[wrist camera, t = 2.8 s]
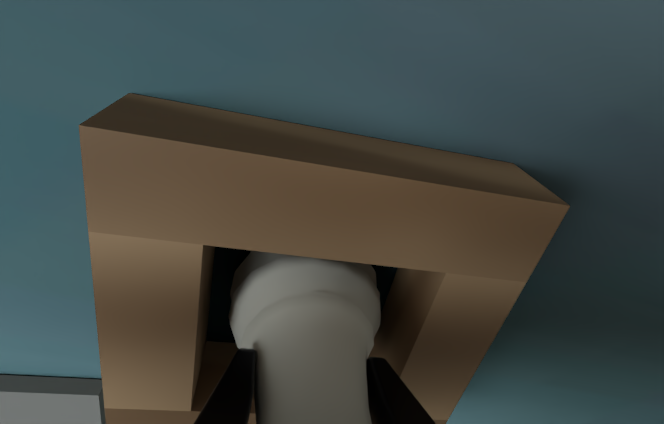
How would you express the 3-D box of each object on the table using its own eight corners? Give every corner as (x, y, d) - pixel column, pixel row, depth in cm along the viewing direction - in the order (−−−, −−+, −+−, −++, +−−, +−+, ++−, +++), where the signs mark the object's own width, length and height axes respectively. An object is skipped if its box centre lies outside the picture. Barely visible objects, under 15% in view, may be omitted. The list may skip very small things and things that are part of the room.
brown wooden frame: (405, 393, 15) (425, 459, 13) (136, 381, 13) (108, 455, 11) (513, 163, 11) (570, 206, 9) (129, 92, 9) (78, 124, 7)
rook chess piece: (200, 283, 12) (78, 703, 5) (311, 193, 11) (361, 569, 4) (299, 353, 14) (314, 724, 7) (401, 284, 13) (544, 640, 6)
